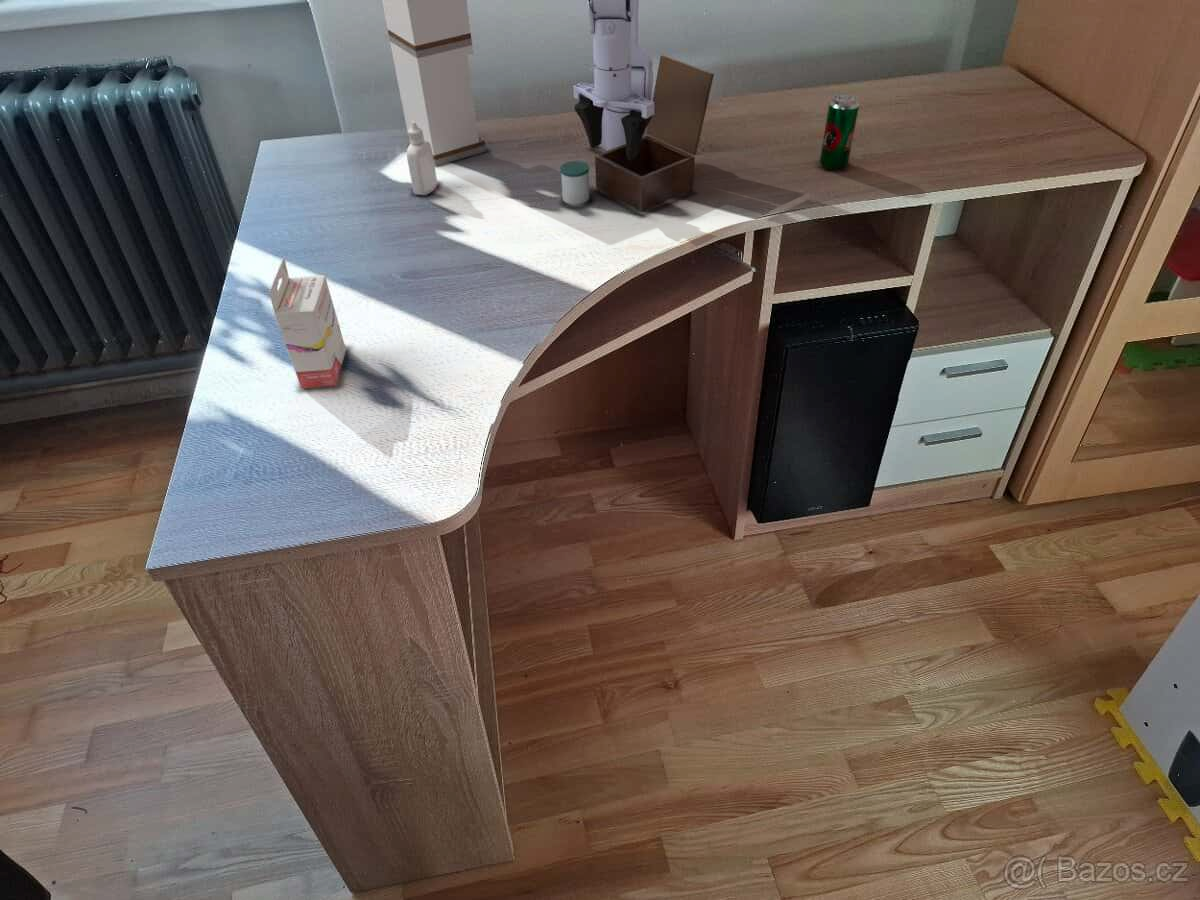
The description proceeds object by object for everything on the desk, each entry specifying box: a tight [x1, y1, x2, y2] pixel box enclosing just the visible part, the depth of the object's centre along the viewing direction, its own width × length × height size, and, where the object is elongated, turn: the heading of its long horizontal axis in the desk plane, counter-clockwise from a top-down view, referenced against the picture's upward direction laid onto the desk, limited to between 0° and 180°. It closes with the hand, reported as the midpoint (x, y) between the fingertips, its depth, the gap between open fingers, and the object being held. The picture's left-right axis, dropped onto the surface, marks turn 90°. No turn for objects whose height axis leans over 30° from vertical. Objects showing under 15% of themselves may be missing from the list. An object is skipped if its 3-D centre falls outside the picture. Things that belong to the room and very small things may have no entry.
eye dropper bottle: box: [406, 121, 438, 196], centre depth 141 cm, size 4×6×12 cm
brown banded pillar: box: [381, 0, 487, 167], centre depth 146 cm, size 11×11×35 cm
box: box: [594, 135, 695, 213], centre depth 140 cm, size 12×12×6 cm
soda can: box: [819, 93, 860, 171], centre depth 144 cm, size 5×5×12 cm
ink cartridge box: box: [269, 258, 347, 389], centre depth 104 cm, size 9×5×15 cm, turn 5°
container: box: [559, 160, 590, 205], centre depth 139 cm, size 5×5×6 cm
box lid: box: [645, 54, 715, 156], centre depth 137 cm, size 13×12×1 cm
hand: (613, 151), depth 133 cm, fingers open, 7 cm apart
